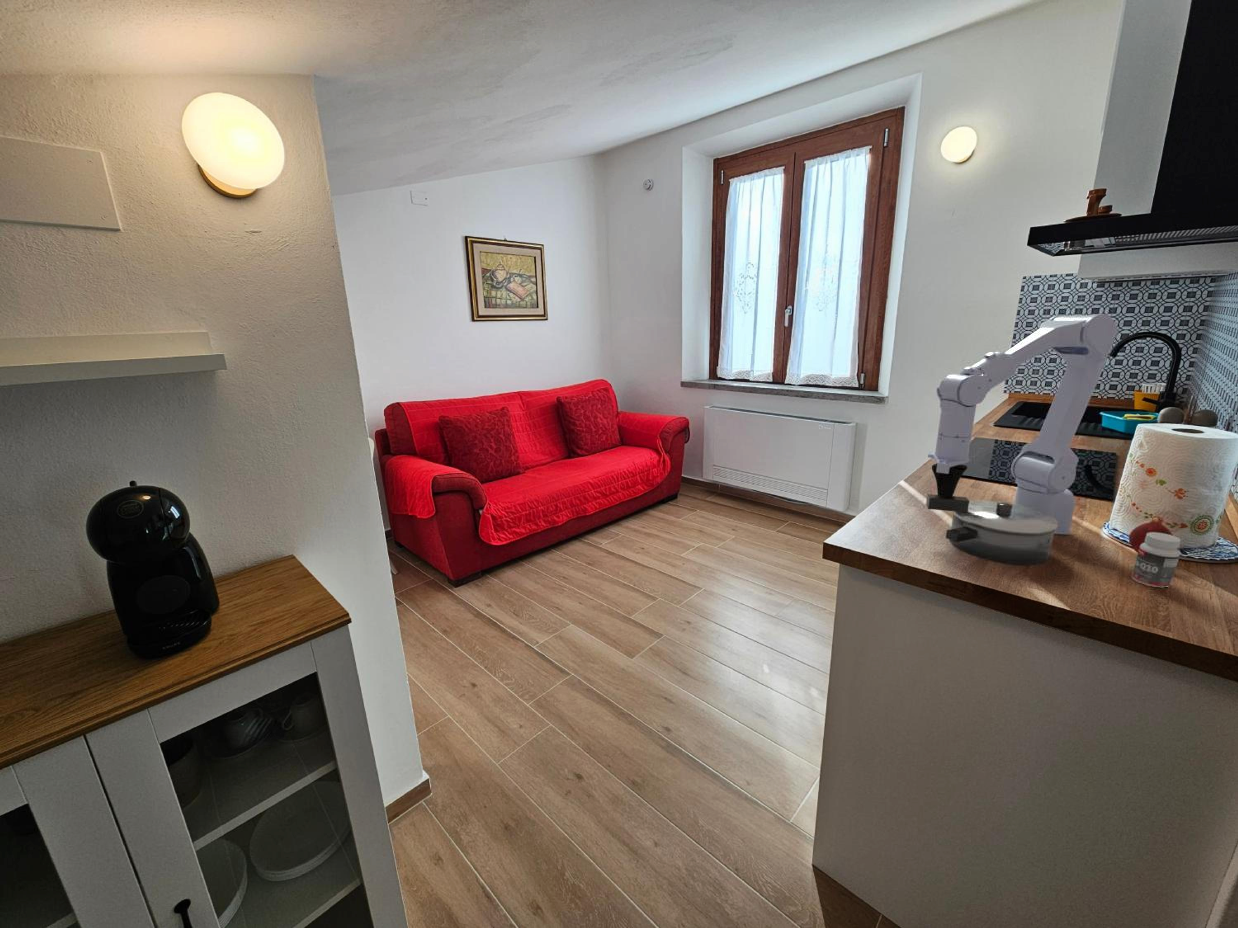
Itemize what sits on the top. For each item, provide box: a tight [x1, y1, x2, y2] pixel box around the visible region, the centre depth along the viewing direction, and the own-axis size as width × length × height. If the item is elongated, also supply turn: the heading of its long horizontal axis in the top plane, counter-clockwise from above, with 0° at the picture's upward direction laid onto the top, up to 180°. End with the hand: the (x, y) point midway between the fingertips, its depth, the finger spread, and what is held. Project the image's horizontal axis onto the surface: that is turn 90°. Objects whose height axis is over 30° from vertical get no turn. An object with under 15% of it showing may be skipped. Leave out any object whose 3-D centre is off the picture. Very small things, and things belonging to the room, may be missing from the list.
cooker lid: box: [925, 493, 1058, 535], centre depth 102 cm, size 21×17×3 cm
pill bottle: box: [1131, 532, 1182, 588], centre depth 87 cm, size 5×5×8 cm
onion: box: [1128, 517, 1174, 554], centre depth 96 cm, size 6×6×8 cm
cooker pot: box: [945, 513, 1055, 566], centre depth 102 cm, size 21×16×6 cm
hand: (944, 499), depth 108 cm, fingers closed
